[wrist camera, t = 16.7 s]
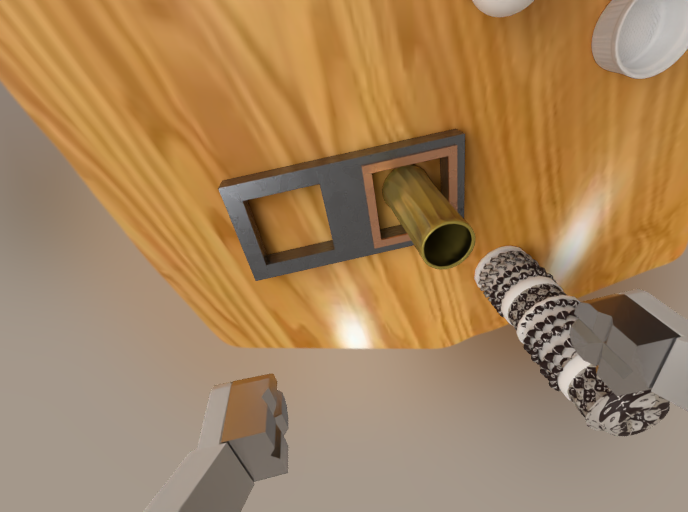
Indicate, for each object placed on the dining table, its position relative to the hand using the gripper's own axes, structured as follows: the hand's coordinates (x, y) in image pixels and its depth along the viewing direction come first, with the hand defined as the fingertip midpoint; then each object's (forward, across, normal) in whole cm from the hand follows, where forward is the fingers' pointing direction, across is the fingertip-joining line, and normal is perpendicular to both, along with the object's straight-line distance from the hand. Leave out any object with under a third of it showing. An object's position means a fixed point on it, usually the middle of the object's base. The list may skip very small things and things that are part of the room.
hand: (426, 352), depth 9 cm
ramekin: (+34, -34, -2) cm, 48 cm away
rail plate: (+34, -1, +11) cm, 36 cm away
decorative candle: (+34, -22, +27) cm, 49 cm away
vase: (+34, -8, +10) cm, 37 cm away
